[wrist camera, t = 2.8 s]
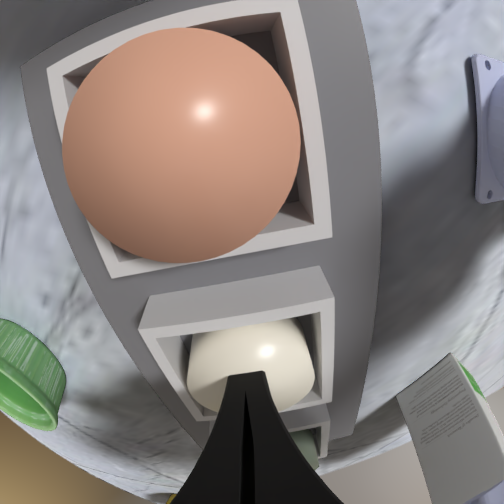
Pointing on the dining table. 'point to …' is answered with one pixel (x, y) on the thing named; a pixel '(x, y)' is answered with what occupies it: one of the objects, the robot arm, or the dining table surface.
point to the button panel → (272, 236)
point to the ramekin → (29, 378)
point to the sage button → (306, 446)
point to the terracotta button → (181, 145)
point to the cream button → (251, 361)
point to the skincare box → (453, 433)
